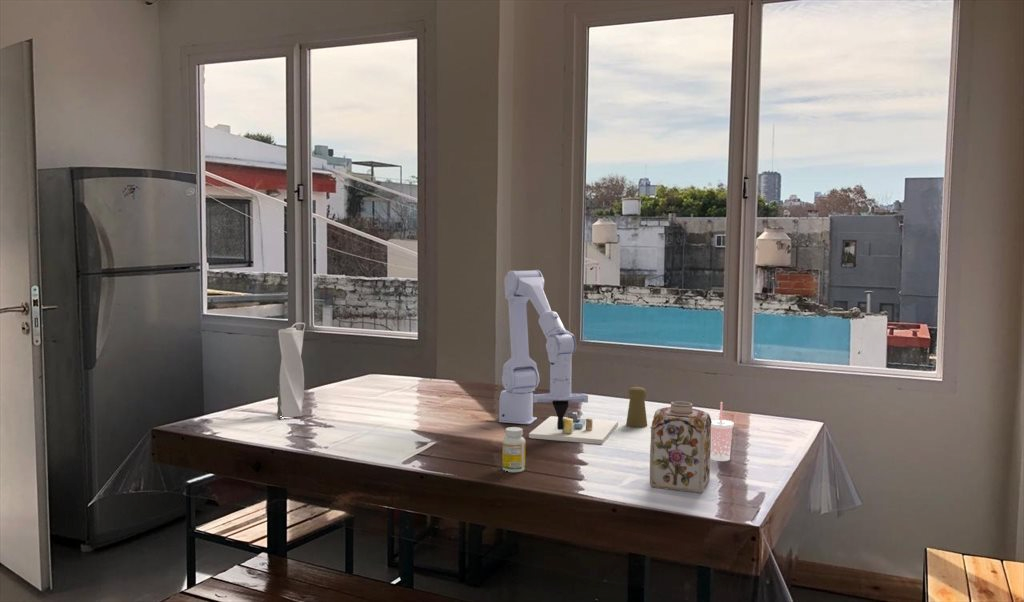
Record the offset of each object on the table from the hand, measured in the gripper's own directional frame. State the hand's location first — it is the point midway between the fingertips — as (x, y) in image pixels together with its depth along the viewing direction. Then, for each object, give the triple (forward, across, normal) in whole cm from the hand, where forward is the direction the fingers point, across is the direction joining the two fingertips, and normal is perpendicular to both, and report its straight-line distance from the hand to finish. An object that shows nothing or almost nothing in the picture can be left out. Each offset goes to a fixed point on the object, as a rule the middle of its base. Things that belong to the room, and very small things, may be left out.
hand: (560, 428), depth 222 cm
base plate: (+2, +5, +7) cm, 8 cm away
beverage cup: (+3, +37, -21) cm, 43 cm away
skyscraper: (+2, -78, +26) cm, 82 cm away
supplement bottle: (+3, -13, -29) cm, 32 cm away
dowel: (+2, +8, +3) cm, 9 cm away
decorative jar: (+3, +23, -40) cm, 46 cm away
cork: (+2, +23, +14) cm, 27 cm away
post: (+2, +4, +8) cm, 9 cm away
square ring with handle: (+1, +3, +5) cm, 6 cm away
